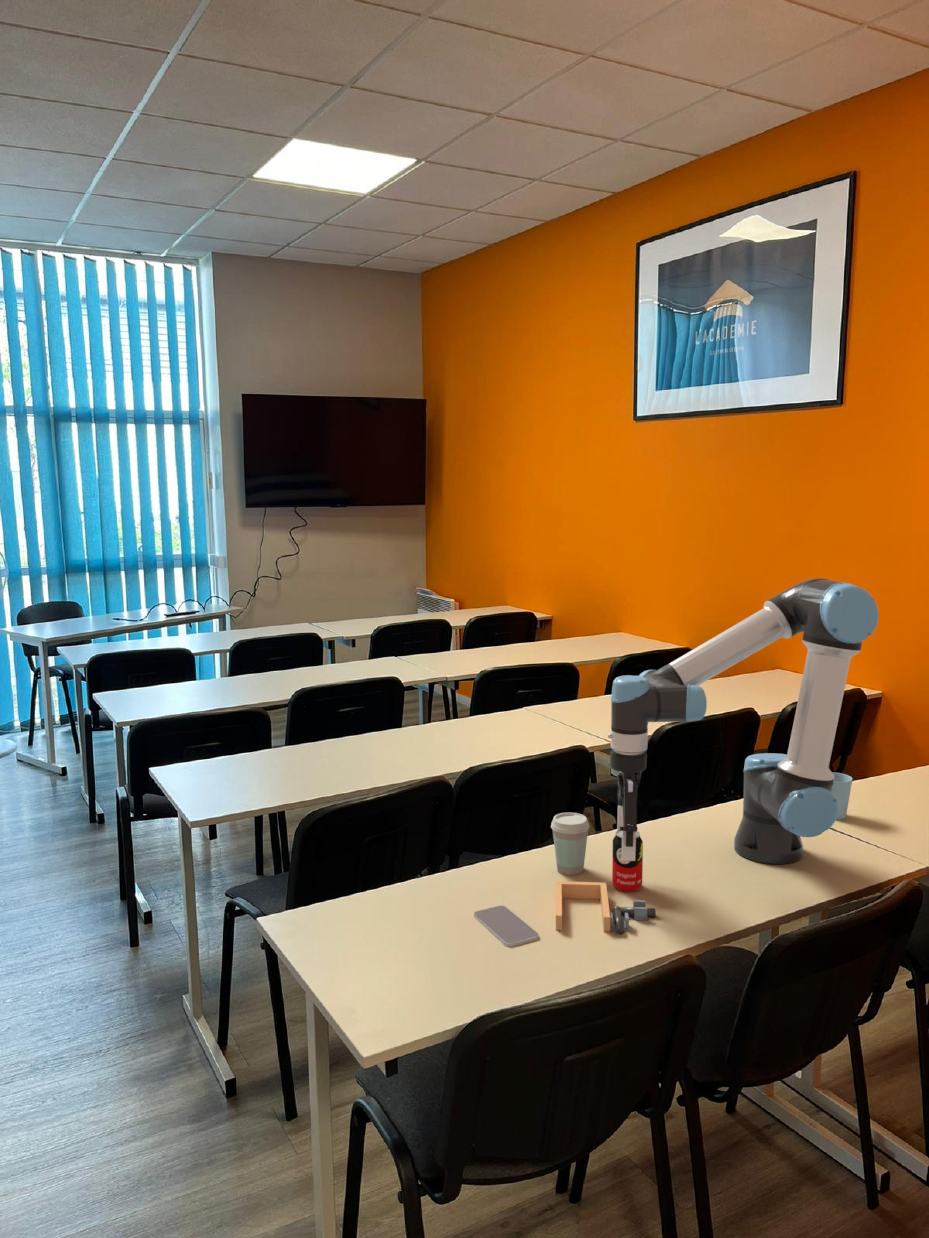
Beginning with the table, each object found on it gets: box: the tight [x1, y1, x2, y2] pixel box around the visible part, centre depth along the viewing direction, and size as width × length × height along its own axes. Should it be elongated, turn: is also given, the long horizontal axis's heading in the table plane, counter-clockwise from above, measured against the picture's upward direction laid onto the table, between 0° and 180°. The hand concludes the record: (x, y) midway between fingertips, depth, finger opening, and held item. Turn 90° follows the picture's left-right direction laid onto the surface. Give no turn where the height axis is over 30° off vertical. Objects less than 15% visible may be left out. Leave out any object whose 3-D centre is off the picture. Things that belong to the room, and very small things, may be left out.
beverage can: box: [611, 830, 644, 893], centre depth 191 cm, size 6×6×12 cm
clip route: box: [610, 899, 657, 936], centre depth 176 cm, size 9×10×2 cm
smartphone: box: [473, 904, 540, 948], centre depth 175 cm, size 7×1×15 cm
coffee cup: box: [550, 812, 590, 876], centre depth 200 cm, size 9×8×12 cm
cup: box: [831, 771, 853, 821], centre depth 229 cm, size 8×8×10 cm
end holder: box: [555, 880, 611, 933], centre depth 180 cm, size 10×15×3 cm
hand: (625, 846), depth 190 cm, fingers open, 13 cm apart
